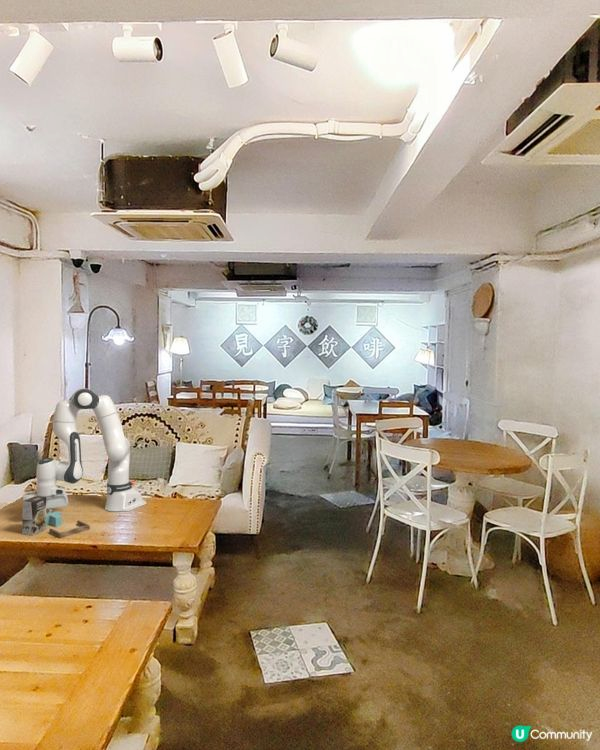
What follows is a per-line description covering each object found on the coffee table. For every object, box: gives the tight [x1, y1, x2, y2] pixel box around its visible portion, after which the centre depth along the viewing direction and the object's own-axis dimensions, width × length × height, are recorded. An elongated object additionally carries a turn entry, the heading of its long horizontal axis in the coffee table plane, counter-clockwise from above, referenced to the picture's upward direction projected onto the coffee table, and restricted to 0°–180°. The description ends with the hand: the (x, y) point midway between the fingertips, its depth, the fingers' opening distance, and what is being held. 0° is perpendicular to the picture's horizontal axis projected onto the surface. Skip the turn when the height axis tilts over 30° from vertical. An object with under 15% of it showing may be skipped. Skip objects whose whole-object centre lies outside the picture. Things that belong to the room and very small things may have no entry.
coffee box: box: [21, 496, 47, 536], centre depth 241 cm, size 9×6×16 cm
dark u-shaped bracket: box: [48, 520, 91, 539], centre depth 243 cm, size 15×10×2 cm, turn 143°
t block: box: [46, 510, 63, 528], centre depth 252 cm, size 9×9×4 cm
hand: (46, 517), depth 257 cm, fingers closed
